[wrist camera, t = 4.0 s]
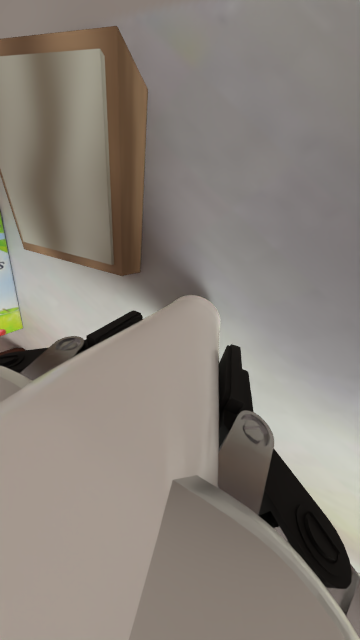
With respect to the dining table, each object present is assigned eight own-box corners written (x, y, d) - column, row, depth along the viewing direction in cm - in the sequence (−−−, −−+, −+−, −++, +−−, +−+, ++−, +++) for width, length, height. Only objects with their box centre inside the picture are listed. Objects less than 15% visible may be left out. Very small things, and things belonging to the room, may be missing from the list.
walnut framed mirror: (147, 89, 9) (112, 16, 6) (140, 272, 15) (119, 276, 12) (18, 91, 11) (-50, 37, 9) (55, 249, 17) (20, 249, 14)
